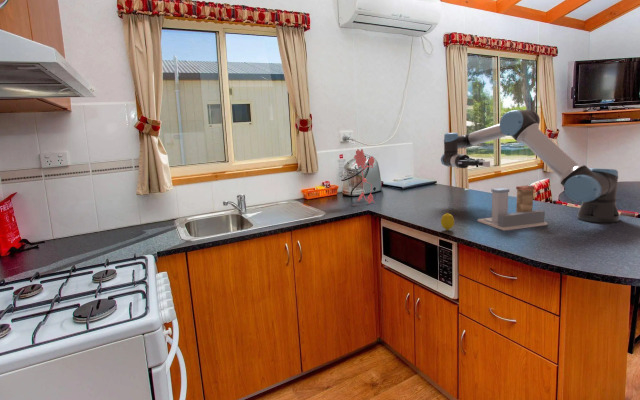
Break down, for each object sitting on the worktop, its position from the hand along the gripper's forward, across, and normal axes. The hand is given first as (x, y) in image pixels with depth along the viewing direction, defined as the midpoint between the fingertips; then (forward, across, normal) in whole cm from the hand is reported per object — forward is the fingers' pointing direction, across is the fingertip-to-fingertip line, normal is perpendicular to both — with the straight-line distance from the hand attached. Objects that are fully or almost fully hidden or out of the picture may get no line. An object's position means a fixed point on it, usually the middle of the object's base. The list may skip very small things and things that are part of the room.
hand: (488, 164), depth 178 cm
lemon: (+16, +32, -26) cm, 45 cm away
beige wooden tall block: (+18, -6, -25) cm, 31 cm away
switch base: (+17, 0, -26) cm, 31 cm away
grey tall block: (+18, +7, -25) cm, 31 cm away
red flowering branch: (-61, +46, -26) cm, 81 cm away
